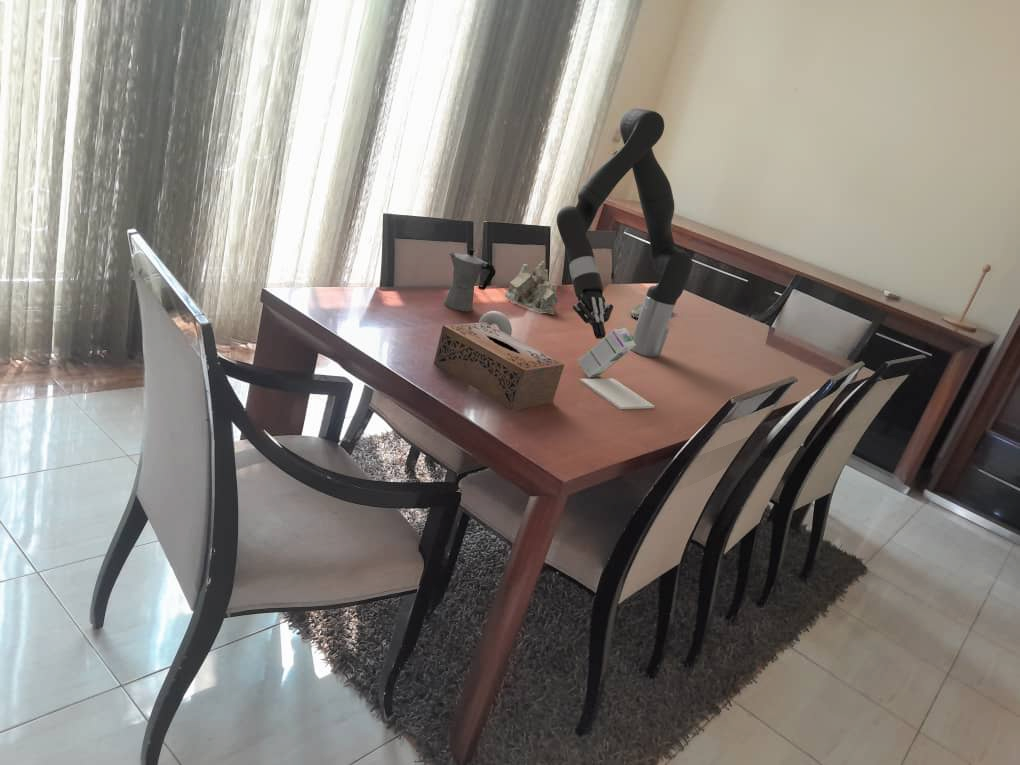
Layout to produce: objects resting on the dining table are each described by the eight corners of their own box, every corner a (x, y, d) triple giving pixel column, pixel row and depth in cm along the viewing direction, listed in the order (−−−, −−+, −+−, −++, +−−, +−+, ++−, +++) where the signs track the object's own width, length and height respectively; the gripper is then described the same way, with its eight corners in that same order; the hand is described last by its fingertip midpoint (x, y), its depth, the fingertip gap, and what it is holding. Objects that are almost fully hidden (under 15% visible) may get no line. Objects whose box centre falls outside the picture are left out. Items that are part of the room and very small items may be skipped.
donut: (471, 341, 198) (480, 306, 194) (477, 339, 201) (487, 304, 197) (502, 355, 194) (512, 319, 190) (508, 353, 197) (518, 317, 193)
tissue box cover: (552, 403, 172) (564, 364, 169) (513, 412, 161) (525, 370, 158) (474, 359, 186) (484, 322, 183) (433, 364, 175) (442, 325, 172)
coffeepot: (432, 301, 222) (445, 243, 216) (445, 297, 231) (458, 241, 225) (478, 318, 219) (493, 260, 212) (489, 313, 227) (504, 256, 221)
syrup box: (588, 378, 194) (627, 347, 186) (576, 360, 196) (614, 327, 188) (599, 375, 199) (638, 344, 191) (587, 357, 200) (625, 326, 192)
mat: (579, 380, 191) (580, 378, 191) (612, 380, 198) (613, 378, 198) (619, 409, 179) (620, 407, 179) (653, 408, 186) (654, 405, 186)
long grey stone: (675, 318, 297) (652, 310, 301) (679, 305, 296) (656, 297, 300) (648, 324, 267) (623, 315, 271) (652, 310, 265) (627, 301, 269)
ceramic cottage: (499, 293, 252) (513, 252, 247) (542, 302, 259) (557, 262, 253) (512, 311, 239) (527, 268, 234) (557, 320, 246) (573, 279, 240)
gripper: (576, 268, 191) (591, 331, 186) (613, 273, 199) (628, 333, 194) (558, 281, 196) (572, 342, 192) (595, 285, 204) (609, 343, 200)
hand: (601, 337), depth 193 cm, fingers closed
